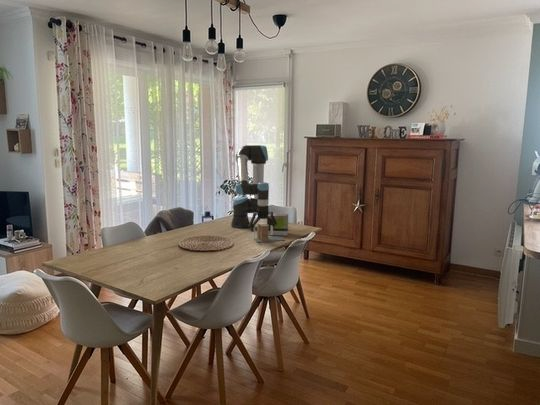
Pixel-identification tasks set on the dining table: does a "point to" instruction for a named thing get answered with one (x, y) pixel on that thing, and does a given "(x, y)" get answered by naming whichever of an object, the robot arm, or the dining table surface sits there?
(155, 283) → the dining table surface
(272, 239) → the slate mat
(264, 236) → the tan upright block
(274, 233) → the tea box
